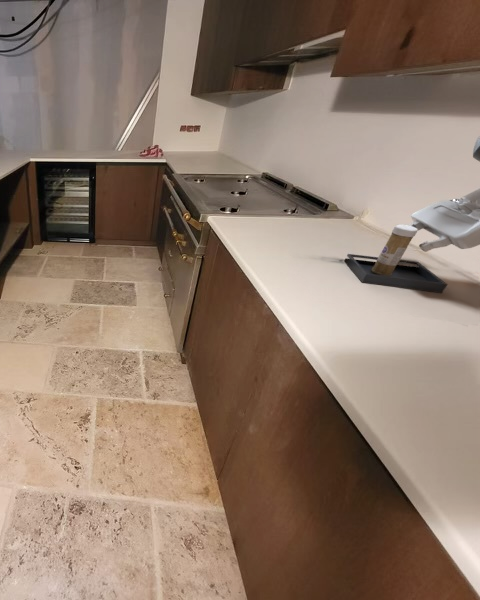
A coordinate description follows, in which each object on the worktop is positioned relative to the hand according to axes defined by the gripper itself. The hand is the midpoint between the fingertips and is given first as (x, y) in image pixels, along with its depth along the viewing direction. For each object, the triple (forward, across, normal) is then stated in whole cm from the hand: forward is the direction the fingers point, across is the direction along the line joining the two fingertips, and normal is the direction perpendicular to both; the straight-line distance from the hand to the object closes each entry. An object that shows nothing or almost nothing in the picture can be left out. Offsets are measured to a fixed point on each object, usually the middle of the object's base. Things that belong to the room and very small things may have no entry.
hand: (410, 242), depth 84 cm
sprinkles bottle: (+9, -1, +5) cm, 10 cm away
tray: (+7, 0, +7) cm, 10 cm away
